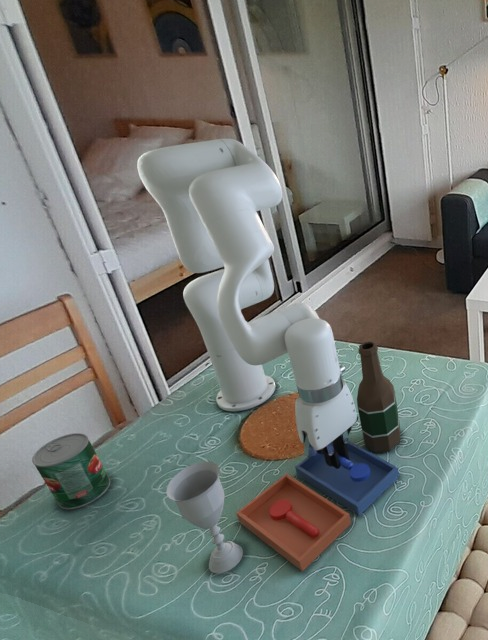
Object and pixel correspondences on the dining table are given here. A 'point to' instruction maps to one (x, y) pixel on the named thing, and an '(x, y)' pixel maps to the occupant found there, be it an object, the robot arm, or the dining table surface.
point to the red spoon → (291, 517)
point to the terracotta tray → (286, 534)
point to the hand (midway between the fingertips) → (338, 461)
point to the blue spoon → (355, 469)
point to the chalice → (205, 509)
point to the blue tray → (339, 480)
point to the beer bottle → (377, 403)
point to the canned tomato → (72, 470)
